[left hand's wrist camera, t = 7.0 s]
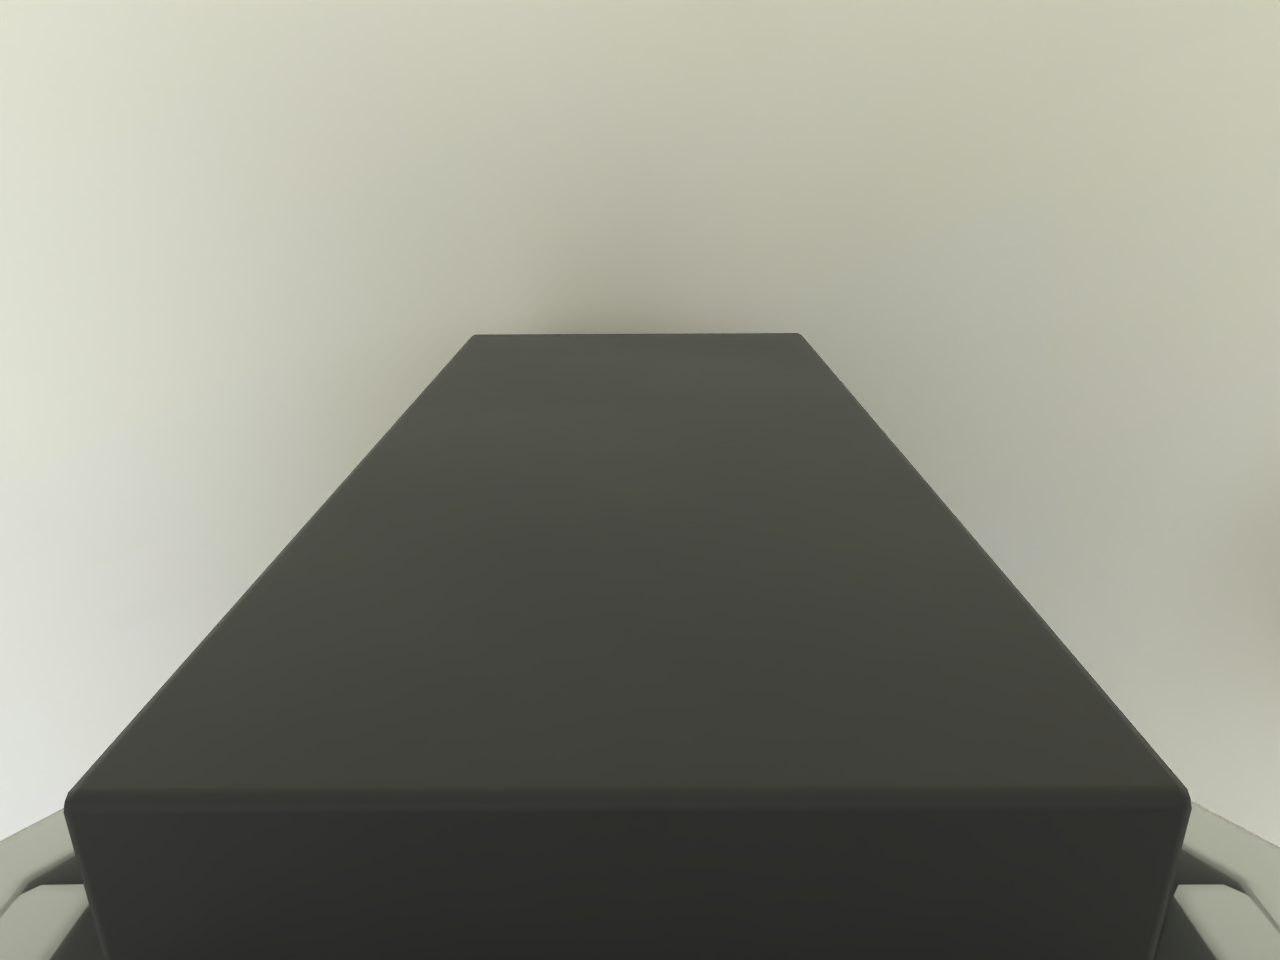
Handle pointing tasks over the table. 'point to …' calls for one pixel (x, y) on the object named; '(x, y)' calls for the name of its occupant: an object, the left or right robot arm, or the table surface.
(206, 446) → the table surface
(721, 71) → the table surface
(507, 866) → the box
